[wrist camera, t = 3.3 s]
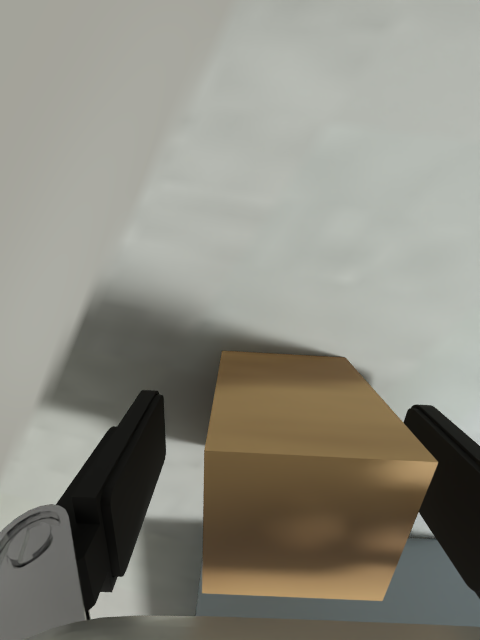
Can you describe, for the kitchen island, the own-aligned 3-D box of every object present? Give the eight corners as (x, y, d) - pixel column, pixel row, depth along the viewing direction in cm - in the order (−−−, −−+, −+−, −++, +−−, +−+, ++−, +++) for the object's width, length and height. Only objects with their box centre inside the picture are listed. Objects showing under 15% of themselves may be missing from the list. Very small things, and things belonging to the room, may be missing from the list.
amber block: (222, 349, 10) (204, 450, 5) (344, 356, 10) (438, 462, 5) (218, 446, 11) (202, 593, 7) (324, 452, 12) (382, 601, 7)
